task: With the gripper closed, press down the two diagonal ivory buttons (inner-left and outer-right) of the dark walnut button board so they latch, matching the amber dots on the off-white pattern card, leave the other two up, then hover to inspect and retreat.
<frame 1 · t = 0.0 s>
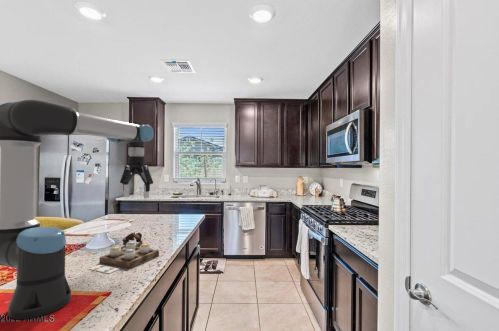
hand: (136, 197, 129), 28 cm above the countertop, fingers open, 13 cm apart
button board: (130, 259, 119), on the countertop
button inner right: (129, 254, 114), point 4 cm above the countertop, slide at 0.0 cm
button outer left: (131, 246, 125), point 4 cm above the countertop, slide at 0.0 cm
button inner left: (115, 251, 117), point 4 cm above the countertop, slide at 0.0 cm
pattern card: (104, 269, 107), on the countertop
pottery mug: (134, 245, 141), on the countertop
button outer right: (144, 248, 122), point 4 cm above the countertop, slide at 0.0 cm
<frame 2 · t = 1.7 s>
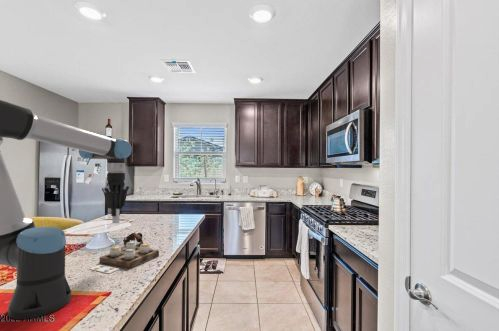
hand: (115, 222, 117), 18 cm above the countertop, fingers closed
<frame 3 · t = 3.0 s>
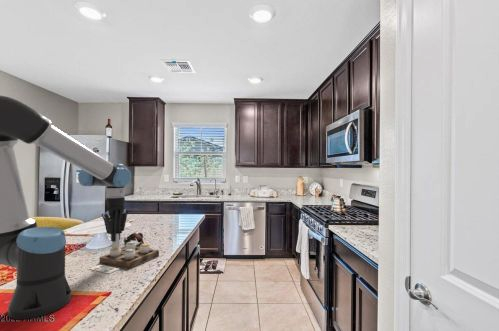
hand: (115, 247, 117), 6 cm above the countertop, fingers closed
button inner left: (115, 252, 117), point 4 cm above the countertop, slide at 0.4 cm, touching gripper
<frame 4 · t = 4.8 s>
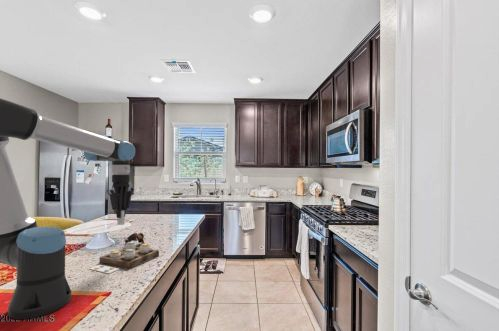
hand: (120, 224, 118), 17 cm above the countertop, fingers closed
button inner left: (115, 255, 117), point 2 cm above the countertop, slide at 2.0 cm
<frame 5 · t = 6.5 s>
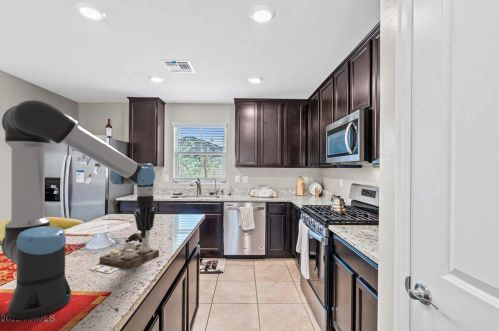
hand: (145, 243, 122), 6 cm above the countertop, fingers closed
button outer right: (144, 248, 122), point 4 cm above the countertop, slide at 0.0 cm, touching gripper
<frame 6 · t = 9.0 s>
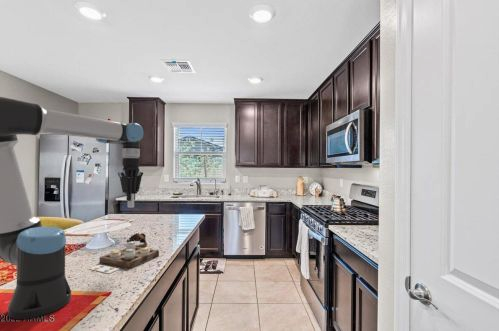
hand: (130, 207, 120), 24 cm above the countertop, fingers closed
button outer right: (144, 252, 122), point 2 cm above the countertop, slide at 2.0 cm
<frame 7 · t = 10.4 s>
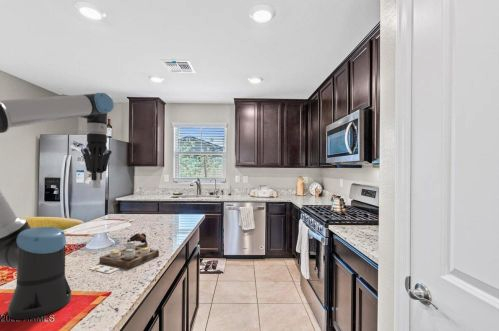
hand: (96, 187, 110), 34 cm above the countertop, fingers closed
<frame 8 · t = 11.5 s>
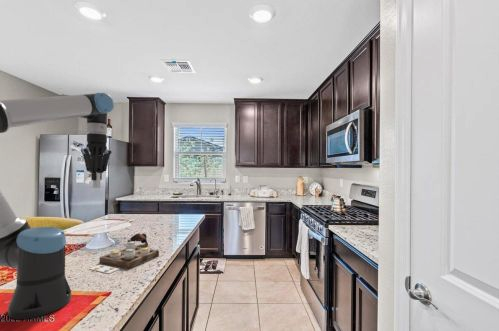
hand: (96, 187, 110), 34 cm above the countertop, fingers closed
at the end: button inner left slide at 2.0 cm; button outer right slide at 2.0 cm; button inner right slide at 0.0 cm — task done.
